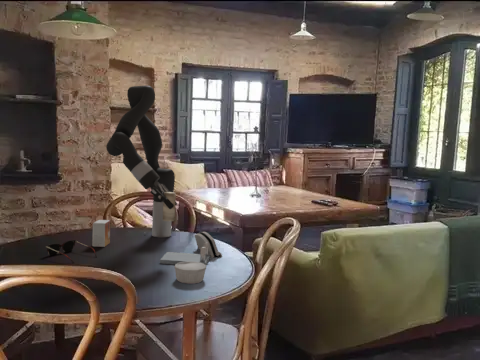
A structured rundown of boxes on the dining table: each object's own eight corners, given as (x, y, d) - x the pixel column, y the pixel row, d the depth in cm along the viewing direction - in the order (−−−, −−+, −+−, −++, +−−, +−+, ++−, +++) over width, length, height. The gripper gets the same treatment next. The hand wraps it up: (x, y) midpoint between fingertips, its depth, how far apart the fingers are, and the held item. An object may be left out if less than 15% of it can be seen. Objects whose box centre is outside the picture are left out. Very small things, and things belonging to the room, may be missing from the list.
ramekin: (190, 273, 172) (190, 259, 171) (212, 280, 165) (212, 265, 164) (167, 279, 163) (167, 264, 163) (189, 287, 156) (190, 272, 156)
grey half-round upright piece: (222, 257, 196) (216, 235, 193) (212, 261, 194) (206, 239, 192) (208, 247, 211) (202, 227, 208) (198, 251, 209) (192, 231, 207)
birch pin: (164, 218, 189) (165, 191, 187) (175, 219, 188) (176, 192, 187) (161, 220, 184) (162, 193, 183) (173, 221, 183) (174, 194, 182)
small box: (104, 247, 202) (105, 223, 201) (91, 246, 202) (92, 222, 201) (110, 243, 210) (110, 220, 209) (97, 242, 210) (98, 219, 209)
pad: (167, 255, 194) (167, 239, 193) (209, 258, 193) (210, 241, 192) (160, 263, 182) (160, 245, 181) (205, 266, 181) (206, 249, 180)
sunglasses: (74, 250, 195) (75, 239, 195) (100, 260, 187) (100, 248, 186) (45, 257, 184) (45, 244, 183) (70, 267, 175) (71, 254, 175)
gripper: (146, 170, 177) (176, 203, 178) (156, 167, 192) (184, 197, 192) (132, 183, 178) (162, 216, 179) (144, 179, 193) (171, 209, 193)
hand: (173, 206), depth 185 cm, fingers closed on birch pin, 4 cm apart
